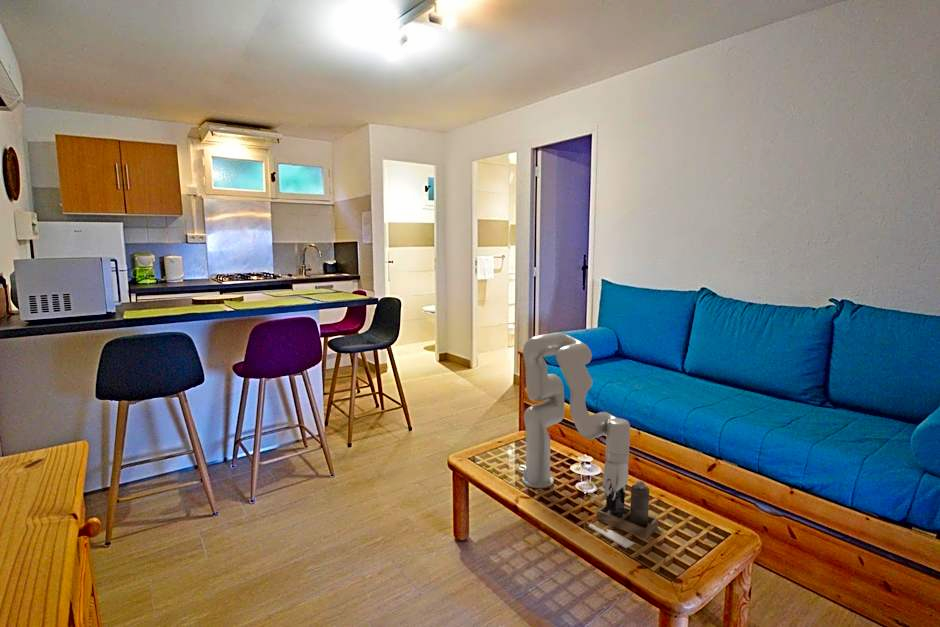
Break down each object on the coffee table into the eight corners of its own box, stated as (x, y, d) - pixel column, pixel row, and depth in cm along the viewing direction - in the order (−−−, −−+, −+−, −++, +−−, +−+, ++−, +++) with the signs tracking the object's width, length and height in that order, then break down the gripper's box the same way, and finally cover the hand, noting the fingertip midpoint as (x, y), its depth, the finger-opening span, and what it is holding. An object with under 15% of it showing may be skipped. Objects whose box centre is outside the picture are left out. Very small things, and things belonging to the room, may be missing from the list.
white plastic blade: (598, 522, 166) (598, 519, 166) (636, 544, 154) (636, 540, 154) (588, 527, 163) (588, 524, 163) (626, 549, 151) (626, 546, 151)
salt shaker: (616, 520, 164) (618, 486, 162) (602, 512, 168) (603, 479, 167) (627, 514, 167) (629, 481, 165) (613, 507, 172) (614, 475, 170)
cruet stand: (596, 519, 168) (598, 473, 165) (609, 509, 174) (610, 464, 172) (646, 539, 156) (648, 490, 154) (657, 527, 162) (659, 480, 160)
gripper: (618, 445, 174) (616, 493, 176) (594, 460, 161) (592, 511, 164) (639, 451, 169) (636, 500, 171) (615, 467, 156) (613, 520, 158)
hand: (615, 505), depth 167 cm, fingers closed on salt shaker, 5 cm apart
